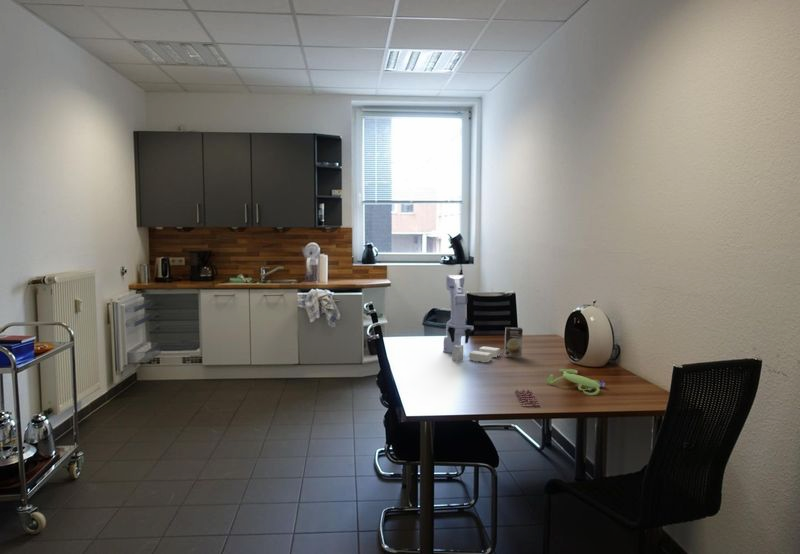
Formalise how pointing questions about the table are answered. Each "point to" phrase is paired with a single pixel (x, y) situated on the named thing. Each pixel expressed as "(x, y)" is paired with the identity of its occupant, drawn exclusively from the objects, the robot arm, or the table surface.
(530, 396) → the chocolate bar
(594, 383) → the figurine
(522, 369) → the table surface
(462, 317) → the robot arm
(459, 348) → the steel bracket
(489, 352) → the white block pair
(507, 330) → the coffee box
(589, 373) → the table surface
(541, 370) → the table surface
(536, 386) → the table surface
